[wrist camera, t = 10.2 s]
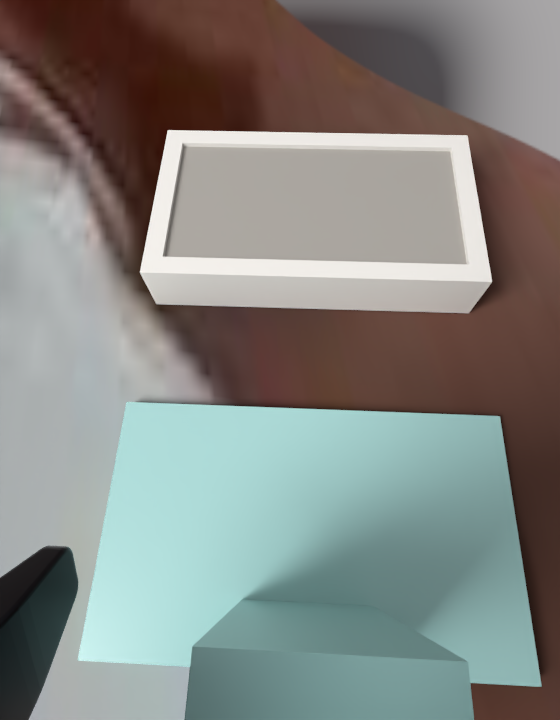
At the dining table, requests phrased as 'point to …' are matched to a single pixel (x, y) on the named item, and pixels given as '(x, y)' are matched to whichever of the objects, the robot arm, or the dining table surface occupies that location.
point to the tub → (317, 222)
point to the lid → (313, 561)
